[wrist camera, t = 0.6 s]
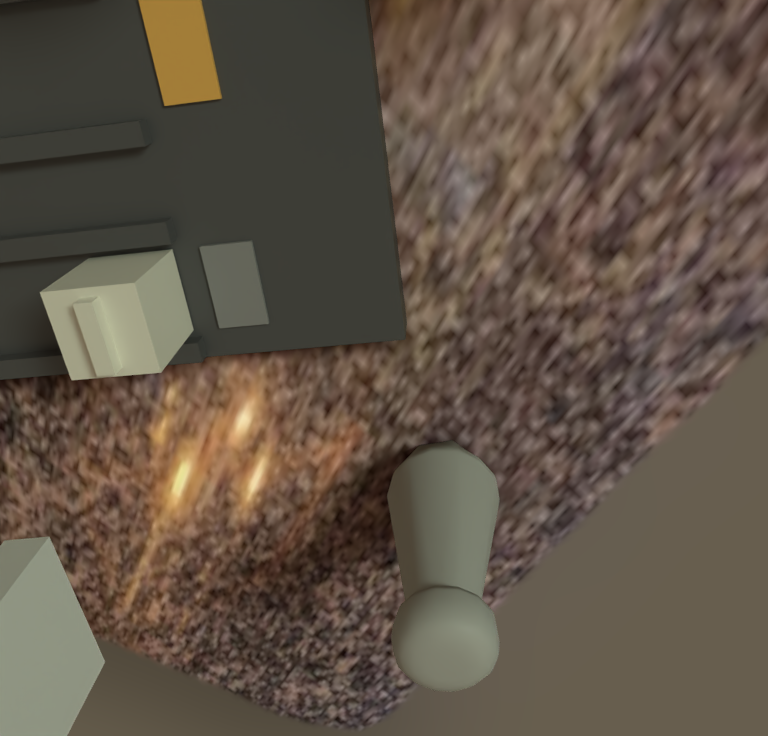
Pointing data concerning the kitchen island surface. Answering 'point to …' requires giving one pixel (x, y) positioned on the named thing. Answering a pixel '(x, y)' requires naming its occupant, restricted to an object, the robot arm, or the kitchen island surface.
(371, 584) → the kitchen island surface
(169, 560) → the kitchen island surface
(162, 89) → the switch bank
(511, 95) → the kitchen island surface
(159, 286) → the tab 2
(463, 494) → the salt shaker
